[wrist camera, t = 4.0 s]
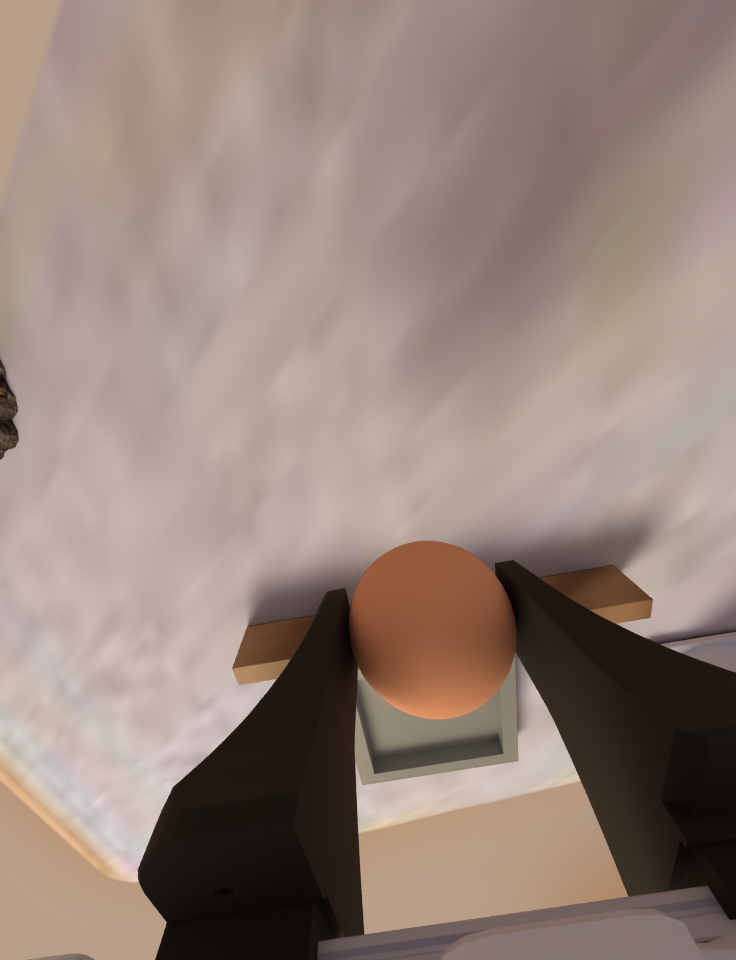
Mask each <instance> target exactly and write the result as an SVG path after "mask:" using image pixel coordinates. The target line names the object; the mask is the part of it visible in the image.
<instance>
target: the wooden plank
mask: <svg viewBox="0 0 736 960" xmlns="http://www.w3.org/2000/svg"><path fill="white" fill-rule="evenodd" d="M540 579H541V580H543V581H544V582H546V583H547V584H549V585H550V586H552V587H553V588H555V589H556V590H558V591H559V592H561V593H562V594H564V595H566V596H567V597H569V598H570V599H572V600H574V601H575V602H577V603H579V604H580V605H582V606H584V607H586V608H587V609H589V610H591V611H592V612H594V613H596V614H598V615H600V616H601V617H603V618H605V619H607V620H609V621H611V622H613V623H615V624H616V623H622V622H628V621H634V620H640V619H646V618H650V616H651V609H652V603H653V599H652V598H651V597H649V596H648V595H647V594H646V593H645V592H644V591H643V590H641V589H640V588H639V587H638V586H637V585H636V584H635V583H633V582H632V581H631V580H630V579H629V578H628V577H627V576H625V575H624V574H623V573H622V572H621V571H620V570H619V569H617V568H616V567H615V566H614V565H613V566H607V567H601V568H595V569H589V570H583V571H577V572H571V573H565V574H559V575H553V576H547V577H542V578H540ZM314 617H315V615H314V616H308V617H302V618H296V619H290V620H284V621H278V622H272V623H266V624H260V625H254V626H248V627H247V629H246V631H245V634H244V637H243V640H242V643H241V645H240V648H239V651H238V654H237V657H236V659H235V662H234V665H233V668H232V670H233V672H234V675H235V677H236V679H237V682H238V684H239V685H242V684H248V683H254V682H261V681H267V680H273V679H277V678H278V677H279V676H280V674H281V673H282V671H283V670H284V668H285V667H286V665H287V664H288V662H289V661H290V659H291V658H292V656H293V654H294V653H295V651H296V650H297V648H298V646H299V645H300V643H301V641H302V640H303V638H304V636H305V634H306V632H307V631H308V629H309V627H310V625H311V623H312V621H313V619H314Z"/></svg>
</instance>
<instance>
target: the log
mask: <svg viewBox="0 0 736 960" xmlns="http://www.w3.org/2000/svg"><path fill="white" fill-rule="evenodd" d="M17 412H18V407H17V402H16V397H15V395H14V394H13V393H12V392H11V390H10V389H9V386H8V384H7V382H6V371H5V368H4V366H3V364H2V362H1V360H0V460H1V459H2V458H3V457H4V453H5V451H7V450H8V449H12V448H15V447H16V444H17V443H18V441H19V437H18V431H17V429H16V427H15V425H14V424H13V422H12V419H13V418H14V416H15V415H16V414H17Z"/></svg>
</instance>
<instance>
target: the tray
mask: <svg viewBox="0 0 736 960" xmlns="http://www.w3.org/2000/svg"><path fill="white" fill-rule="evenodd" d="M355 760H356V764H357V767H358V771H359V774H360V778H361V781H362V785H367V784H374V783H380V782H386V781H393V780H399V779H406V778H412V777H419V776H425V775H431V774H438V773H444V772H451V771H457V770H464V769H470V768H477V767H483V766H489V765H496V764H502V763H509V762H515V761H518V734H517V701H516V668H515V655H514V659H513V663H512V666H511V669H510V671H509V674H508V675H507V677H506V679H505V681H504V682H503V684H502V686H501V687H500V689H499V690H498V691H497V692H496V693H495V694H494V695H493V696H492V697H491V698H490V699H489V700H488V701H487V702H486V703H485V704H483V705H482V706H481V707H479V708H478V709H476V710H474V711H472V712H470V713H467V714H465V715H462V716H459V717H454V718H449V719H426V718H420V717H417V716H414V715H410V714H408V713H405V712H403V711H401V710H399V709H397V708H395V707H394V706H392V705H391V704H389V703H388V702H386V701H385V700H384V699H383V698H382V697H381V696H380V695H379V694H378V693H377V692H375V691H374V690H373V689H372V687H371V686H370V685H369V683H368V682H367V681H366V679H365V678H364V676H363V675H362V673H361V671H360V669H359V667H358V683H357V703H356V724H355Z"/></svg>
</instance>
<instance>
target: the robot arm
mask: <svg viewBox="0 0 736 960" xmlns="http://www.w3.org/2000/svg"><path fill="white" fill-rule="evenodd" d="M495 573H496V577H497V578H498V580H499V581H500V582H501V584H502V585H503V587H504V589H505V591H506V593H507V595H508V597H509V599H510V602H511V605H512V609H513V612H514V616H515V622H516V632H517V639H516V653H517V655H518V657H519V658H520V660H521V662H522V664H523V666H524V667H525V669H526V671H527V673H528V674H529V676H530V678H531V680H532V681H533V683H534V685H535V687H536V688H537V690H538V692H539V694H540V695H541V697H542V699H543V701H544V703H545V704H546V706H547V708H548V710H549V712H550V714H551V716H552V718H553V720H554V722H555V724H556V726H557V728H558V730H559V733H560V735H561V737H562V739H563V741H564V744H565V746H566V748H567V750H568V752H569V755H570V757H571V759H572V761H573V764H574V766H575V768H576V771H577V773H578V775H579V778H580V780H581V782H582V784H583V787H584V789H585V791H586V794H587V795H588V798H589V801H590V803H591V805H592V808H593V810H594V813H595V815H596V817H597V820H598V822H599V824H600V827H601V829H602V832H603V834H604V837H605V839H606V841H607V844H608V846H609V849H610V851H611V854H612V856H613V859H614V861H615V864H616V866H617V869H618V871H619V874H620V876H621V879H622V882H623V884H624V887H625V889H626V891H627V894H628V897H624V898H617V899H610V900H603V901H596V902H589V903H582V904H575V905H568V906H561V907H554V908H547V909H540V910H533V911H526V912H519V913H512V914H505V915H498V916H491V917H485V918H477V919H470V920H463V921H456V922H449V923H442V924H435V925H428V926H421V927H414V928H407V929H400V930H393V931H386V932H379V933H372V934H365V935H364V923H363V908H362V891H361V875H360V856H359V838H358V818H357V796H356V772H355V724H356V703H357V683H358V665H357V663H356V661H355V658H354V655H353V652H352V648H351V644H350V638H349V611H350V606H349V601H348V597H347V593H346V589H345V588H344V589H338V590H332V591H328V592H327V593H326V594H325V596H324V598H323V601H322V603H321V605H320V607H319V609H318V611H317V613H316V615H315V617H314V619H313V621H312V623H311V625H310V627H309V629H308V631H307V632H306V634H305V636H304V638H303V640H302V641H301V643H300V645H299V646H298V648H297V650H296V651H295V653H294V654H293V656H292V658H291V659H290V661H289V662H288V664H287V665H286V667H285V668H284V670H283V671H282V673H281V674H280V676H279V677H278V678H277V680H276V681H275V682H274V684H273V685H272V687H271V688H270V689H269V690H268V692H267V693H266V694H265V695H264V697H263V698H262V699H261V700H260V702H259V703H258V704H257V705H256V707H255V708H254V709H253V710H252V711H251V712H250V714H249V715H248V716H247V717H246V718H245V719H244V720H243V722H242V723H241V724H240V725H239V726H238V727H237V728H236V729H235V730H234V731H233V732H232V733H231V734H230V735H229V736H228V737H227V738H226V739H225V740H224V741H223V742H222V743H221V744H220V745H219V746H218V747H217V748H216V749H215V750H214V751H213V752H212V753H211V754H210V755H209V756H208V757H207V758H205V759H204V760H203V761H202V762H201V763H200V764H199V765H198V766H197V767H195V768H194V769H193V770H192V771H191V772H190V773H189V774H188V775H186V776H185V777H184V778H183V779H182V780H181V781H180V782H178V783H177V784H176V785H175V786H174V787H173V788H172V791H171V793H170V795H169V797H168V799H167V801H166V803H165V805H164V807H163V809H162V811H161V814H160V816H159V818H158V821H157V823H156V826H155V828H154V831H153V833H152V836H151V838H150V841H149V843H148V846H147V848H146V851H145V853H144V856H143V858H142V861H141V863H140V866H139V868H138V880H139V883H140V885H141V887H142V889H143V891H144V893H145V895H146V896H147V897H148V899H149V900H150V901H151V902H152V904H153V905H154V906H155V907H156V909H157V910H158V912H159V913H160V914H161V915H162V917H163V918H164V919H165V920H166V922H167V924H166V928H165V931H164V934H163V937H162V940H161V943H160V946H159V949H158V953H157V956H156V959H155V960H736V632H732V633H725V634H719V635H713V636H707V637H701V638H694V639H688V640H682V641H676V642H670V643H664V644H658V643H656V642H653V641H651V640H649V639H646V638H644V637H642V636H640V635H638V634H635V633H633V632H631V631H629V630H627V629H625V628H623V627H621V626H619V625H617V624H615V623H613V622H611V621H609V620H607V619H605V618H603V617H601V616H600V615H598V614H596V613H594V612H592V611H591V610H589V609H587V608H586V607H584V606H582V605H580V604H579V603H577V602H575V601H574V600H572V599H570V598H569V597H567V596H566V595H564V594H562V593H561V592H559V591H558V590H556V589H555V588H553V587H552V586H550V585H549V584H547V583H546V582H544V581H543V580H541V579H540V578H538V577H537V576H535V575H534V574H532V573H531V572H530V571H528V570H527V569H525V568H524V567H522V566H521V565H520V564H518V563H517V562H515V561H514V560H512V561H506V562H500V563H495ZM30 960H94V959H93V958H91V957H89V956H87V955H83V954H65V955H58V956H51V957H45V958H37V959H30Z"/></svg>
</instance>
